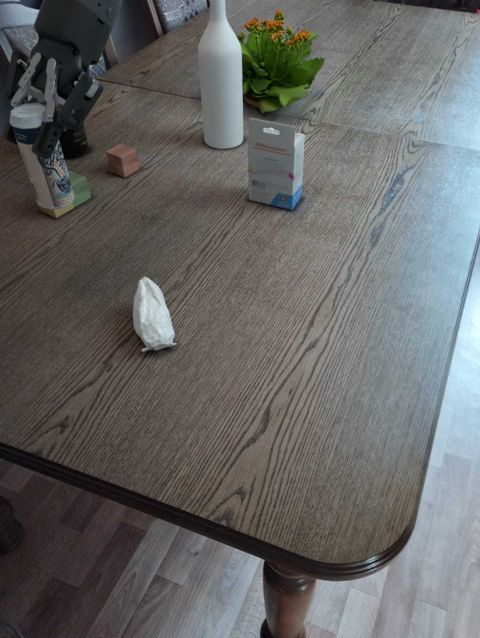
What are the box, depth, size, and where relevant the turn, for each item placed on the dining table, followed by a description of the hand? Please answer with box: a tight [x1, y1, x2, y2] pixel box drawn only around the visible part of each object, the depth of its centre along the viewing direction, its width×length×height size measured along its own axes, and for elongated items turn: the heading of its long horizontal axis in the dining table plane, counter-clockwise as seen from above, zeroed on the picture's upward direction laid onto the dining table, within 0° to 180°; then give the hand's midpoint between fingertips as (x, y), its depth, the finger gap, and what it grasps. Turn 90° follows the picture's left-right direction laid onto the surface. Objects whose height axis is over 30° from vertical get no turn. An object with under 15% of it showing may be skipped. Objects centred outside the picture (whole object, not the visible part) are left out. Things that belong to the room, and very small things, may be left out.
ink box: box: [247, 117, 306, 211], centre depth 92 cm, size 8×5×15 cm, turn 66°
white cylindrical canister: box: [9, 103, 74, 209], centre depth 67 cm, size 5×5×12 cm
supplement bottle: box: [43, 99, 90, 159], centre depth 105 cm, size 7×7×12 cm
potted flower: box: [236, 9, 326, 115], centre depth 121 cm, size 25×24×18 cm
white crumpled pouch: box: [132, 275, 177, 353], centre depth 73 cm, size 5×7×10 cm
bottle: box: [197, 0, 244, 150], centre depth 102 cm, size 8×8×30 cm
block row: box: [38, 143, 140, 219], centre depth 98 cm, size 4×20×4 cm, turn 146°
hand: (25, 148), depth 65 cm, fingers closed on white cylindrical canister, 4 cm apart
